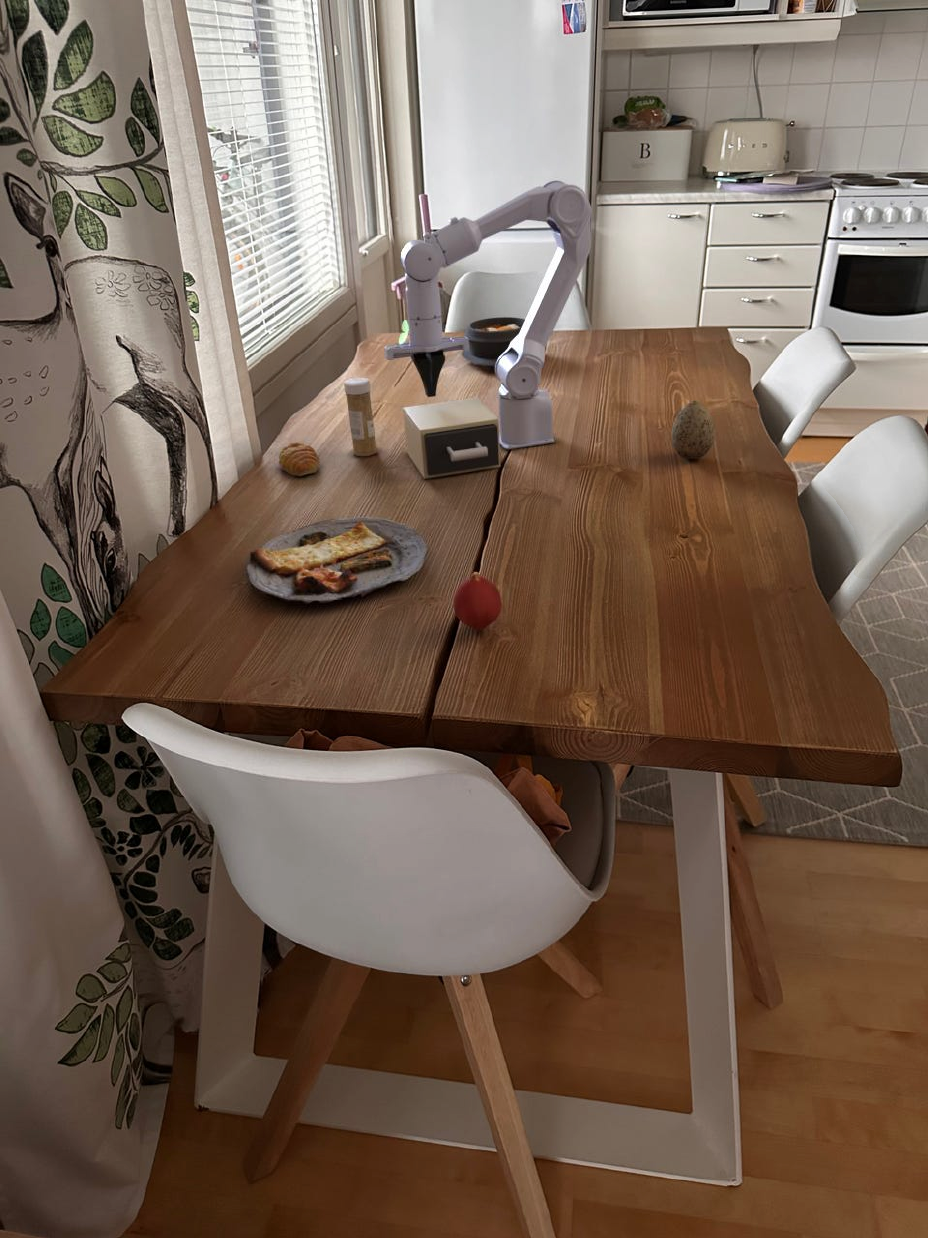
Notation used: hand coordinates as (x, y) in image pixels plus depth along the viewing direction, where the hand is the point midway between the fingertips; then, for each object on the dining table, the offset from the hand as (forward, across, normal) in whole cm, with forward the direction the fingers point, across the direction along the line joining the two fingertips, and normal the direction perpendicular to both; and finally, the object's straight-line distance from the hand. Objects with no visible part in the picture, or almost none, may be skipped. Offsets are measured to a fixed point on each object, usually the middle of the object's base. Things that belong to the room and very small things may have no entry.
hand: (430, 395), depth 164 cm
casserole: (+11, +30, +55) cm, 64 cm away
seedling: (+10, +18, +82) cm, 85 cm away
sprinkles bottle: (+11, -12, +5) cm, 17 cm away
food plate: (+11, -25, -41) cm, 49 cm away
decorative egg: (+11, +40, -23) cm, 47 cm away
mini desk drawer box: (+10, +2, -6) cm, 12 cm away
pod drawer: (+10, +2, -10) cm, 14 cm away
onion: (+11, -11, -64) cm, 66 cm away
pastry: (+11, -24, +2) cm, 27 cm away
